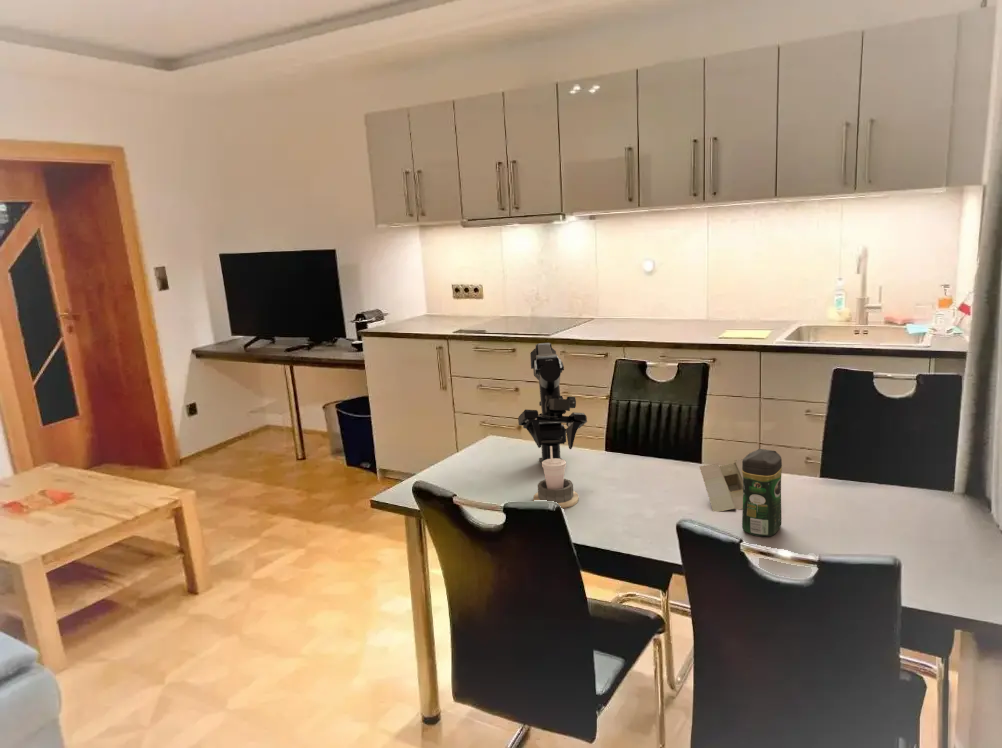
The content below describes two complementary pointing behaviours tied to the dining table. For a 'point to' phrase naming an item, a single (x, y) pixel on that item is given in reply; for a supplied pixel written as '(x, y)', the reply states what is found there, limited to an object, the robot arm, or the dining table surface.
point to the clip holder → (557, 494)
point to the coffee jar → (762, 492)
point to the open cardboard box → (724, 485)
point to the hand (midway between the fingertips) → (555, 448)
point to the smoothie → (554, 472)
